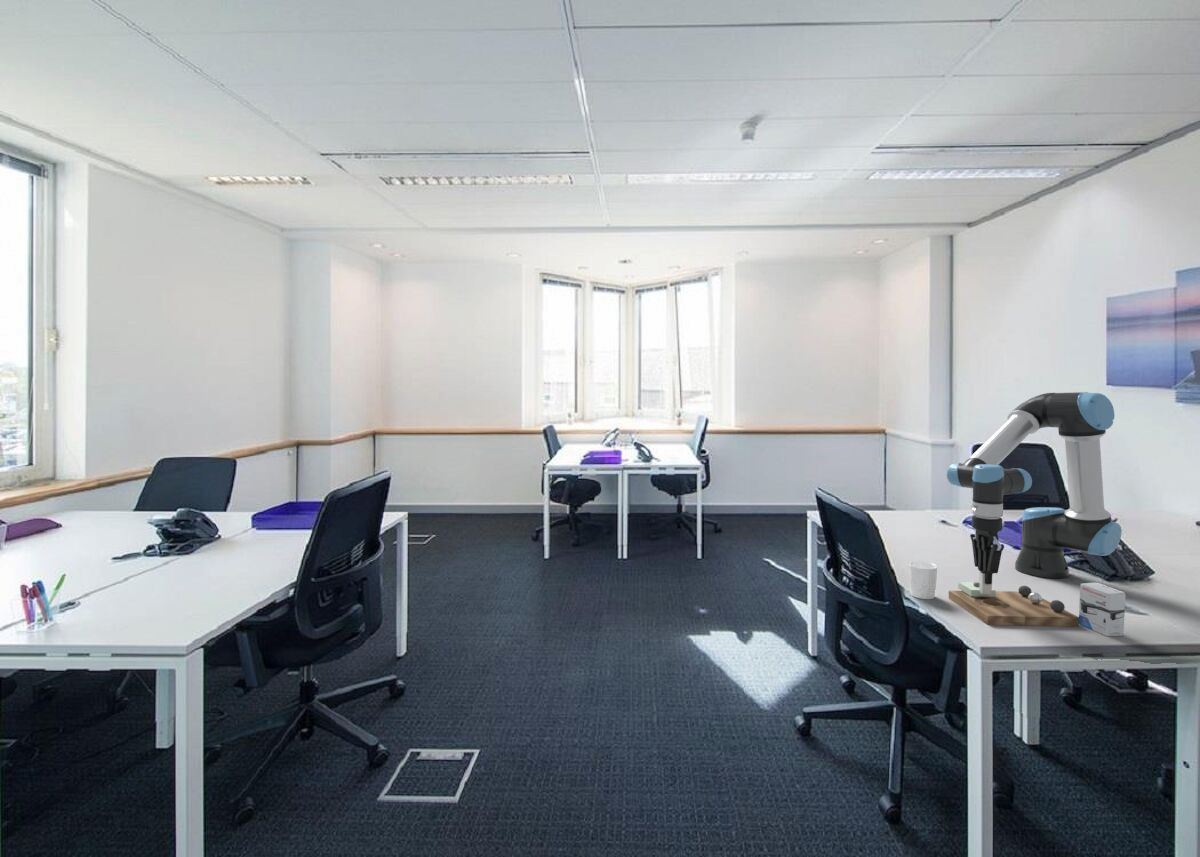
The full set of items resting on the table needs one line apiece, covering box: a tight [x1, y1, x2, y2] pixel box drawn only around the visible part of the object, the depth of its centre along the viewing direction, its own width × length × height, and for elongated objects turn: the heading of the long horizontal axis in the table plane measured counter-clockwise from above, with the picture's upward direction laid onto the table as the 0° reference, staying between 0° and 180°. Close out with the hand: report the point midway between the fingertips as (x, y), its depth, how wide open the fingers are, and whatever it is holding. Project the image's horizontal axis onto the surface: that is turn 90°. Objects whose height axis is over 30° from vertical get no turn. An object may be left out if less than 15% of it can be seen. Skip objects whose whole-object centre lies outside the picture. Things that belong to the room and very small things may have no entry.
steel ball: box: [1028, 592, 1043, 604], centre depth 163 cm, size 3×3×3 cm
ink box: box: [1078, 582, 1126, 637], centre depth 151 cm, size 8×5×12 cm, turn 5°
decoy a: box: [1017, 585, 1033, 597], centre depth 169 cm, size 3×3×3 cm
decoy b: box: [1050, 599, 1066, 612], centre depth 157 cm, size 3×3×3 cm
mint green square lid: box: [957, 581, 997, 597], centre depth 172 cm, size 7×7×3 cm
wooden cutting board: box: [948, 590, 1080, 627], centre depth 164 cm, size 24×20×2 cm
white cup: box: [908, 561, 938, 600], centre depth 178 cm, size 8×8×10 cm
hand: (985, 593), depth 168 cm, fingers closed
